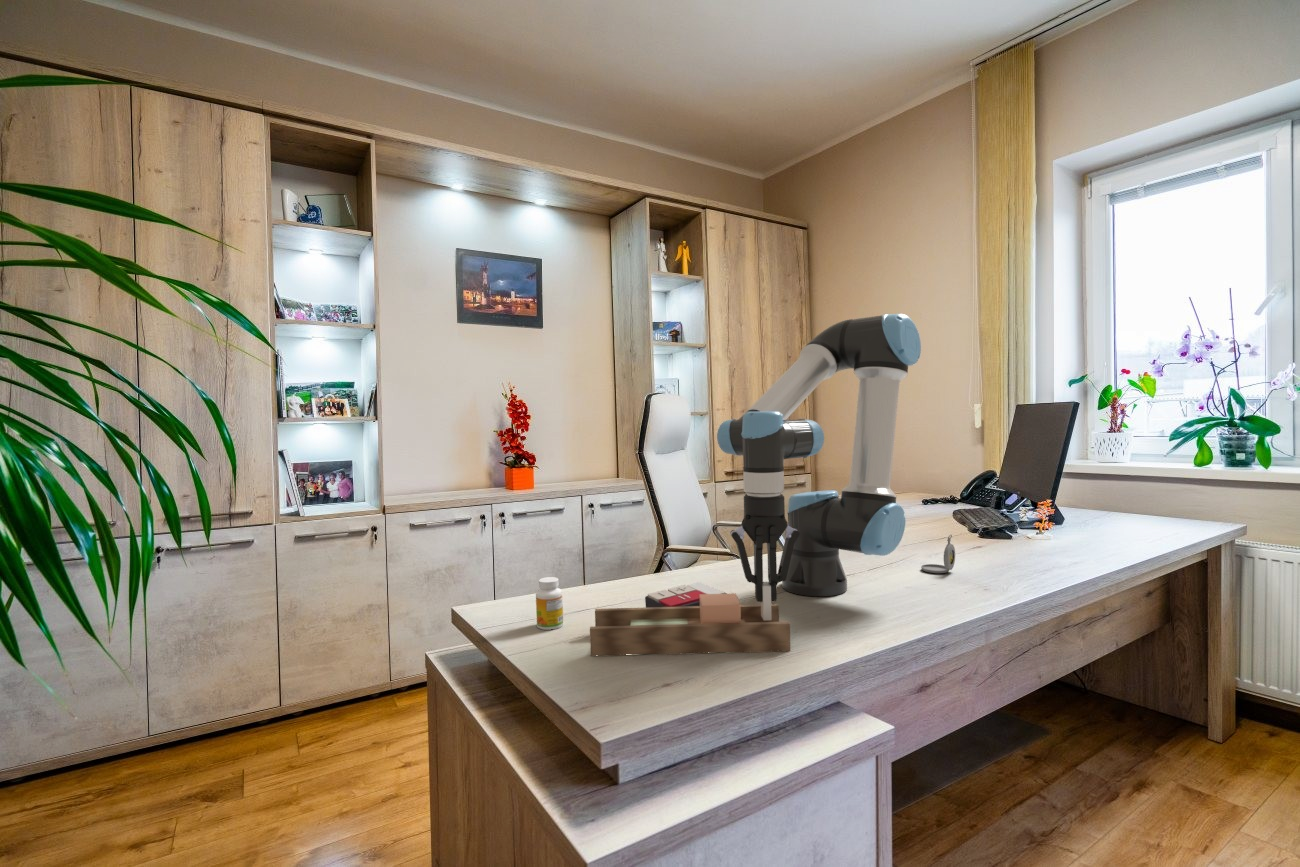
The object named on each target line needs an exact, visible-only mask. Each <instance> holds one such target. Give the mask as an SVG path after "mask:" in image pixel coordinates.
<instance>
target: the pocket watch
mask: <svg viewBox="0 0 1300 867" xmlns="http://www.w3.org/2000/svg"><path fill="white" fill-rule="evenodd" d="M952 536H953V535H952V534H949V535H948V536H947V544H946V545H945V548H944V551H943V564H944V565H942V564H935V563H930V564H929V563H928V564H922V565H920V566H921V567H920V569H921V570H922V571H923V572H926V573H933V574H944V573H945V574H947V573H948V572H950V570H951V571H952V570H953V568H954V567H955V562H956V549H955V546H954V544H952V543H951V542H952V541H951V540H952Z"/></svg>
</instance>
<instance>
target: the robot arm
mask: <svg viewBox="0 0 1300 867" xmlns="http://www.w3.org/2000/svg"><path fill="white" fill-rule="evenodd" d="M921 351H922V344H921V338H920V332H919V330H918V328H917V325H916V324H915V322H914V320H912V319H911V317H909V316H908V315H906V314H903V313H893V314H892V313H891V314H890V313H884V314H882V315H876V316H875V315H874V316H867V317H862V318H861V317H860V318H854V319H853V318H852V319H850V318H849V319H845V320H842V321H839V322H837V323H835V324H832V325H830V326H828V327H827V328H825V329H824V330H823V331H821V332H819V334H818V335H816V336H815V337H813V338H812V339H811V340H809V341H808V342H807V344H806V345H805V346H804V347H803V348H801V350H800V353H799V358H798V359H797V360H796V361H795V362H794V363H793V364H792V365H791V366H790V367H789V368H788V369H787V370H786V371H785V372H784V373H783V374H782V375H781V376H780V377H779V378H778V379H777V380H776V381H775V382H774V383H773V384H772V385H771V386H770V387H769V388H768V389H767V390H766V391H765V392H764V393H763V394H762V395H761V397H759V398H758V399H757V400H756V402H754V403H753V404H752V405H751V406H750V407H749V409H747V411H746V412H745V413H743V414H742V416H740V417H739V418H737V419H736V418H734V419H733V418H732V419H727V420H725V421H722V422H721V424H720V425H719V426H718V429H717V432H716V441H717V445H718V447H719V448H720V450H721V451H722V452H723V453H725V454H728V455H733V456H734V455H736V456H737V457H738V456H739V457H741V456H742V459H743V460H742V462H743V464H742V465H743V467H742V468H743V470H742V471H743V472H742V473H743V474H742V475H743V492H745V493H746V494H744V496H743V519H742V521H741V525H740V526H739V527H738V528H736V529H731V531H730V532H729V533H730V536H731V538H732V539H733V541H734V542H735V544H736V548H737V552H738V555H739V558H740V563H741V565H742V566H741V567H742V570H743V574H744V577H745V580H746V581H747V583H752V584H753V585H754V597H755V600H756V601H757V603H758V602H759V603H760V604H761V616H762V618H763V620H772V616H771V604H772V602H777V598H778V597H777V592H778V591H777V590H778V589H777V586H778V584H779V583H781V586H782V589H783V590H785V591H787V592H788V593H790V594H791V593H792V594H795V595H800V596H806V597H833V596H838V595H841V594H844V593H845V592H847V590H848V579H847V576H846V573H845V570H844V568H843V565H842V561H841V557H840V550H841V551H842V550H843V551H847V552H854V553H858V554H864V555H866V556H879V557H880V556H881V557H883V556H887V555H890V554H891V553H893V552H894V551H895V550H896V548H897V547H898V546H899V545H900V543H901V541H902V539H903V536H904V534H905V528H906V521H907V520H906V516H905V511H904V509H903V507H902V506H901V505H899V503H897V495H896V494H895V492H894V491H893V490H892V488H891V480H892V478H891V477H892V468H893V459H894V458H893V457H894V449H895V448H894V446H895V437H896V425H897V424H896V423H897V415H898V414H897V412H898V402H899V393H900V383H901V382H902V381H903V380H904V379H905V378H906V377H907V376H908V374H909V373H908V372H909V366H910V367H912V366H914V365H915V364H917V363H918V361H919V359H920V357H921ZM849 369H850V370H851V369H853V374H854V375H855V376H856V377H857V378H858V381H859V384H858V385H859V386H858V394H857V405H856V412H855V413H856V415H855V426H854V434H853V435H854V437H853V446H852V447H853V448H852V456H851V466H850V476H849V483H848V485H846V486H845V487H843V488H842V490H841V496H840V495H839V493H838V491H837V490H817V491H808V492H807V491H806V492H800V493H795V494H792V495H791V496H790V497H789V498H788V504H787V505H788V506H787V519H786V515H785V514H786V513H785V512H786V511H785V510H786V508H785V496H784V494H783V492H785V474H784V472H785V470H784V466H785V465H784V464H785V462H784V461H785V460H790V459H799V458H803V459H805V458H807V457H811V456H815V455H817V454H818V453H819V452H820V451H821V450H822V449H823V446H824V443H825V433H824V430H823V427H821V425H820V424H819V423H818V422H817V421H815V420H812V419H805V418H798V419H788V418H789V417H790V416H791V415H792V414H793V413H795V411H796V410H797V408H798V407H799V406H800V405H801V404H802V403H803V402H804V401H805V400H806V398H808V397H809V396H810V395H811V394H812V393H813V391H814V390H816V388H817V387H818V386H819V385H820V384H821V383H822V382H823V381H824V380H828V379H831V378H832V377H833V376H834V375H835V374H836V373H838V372H841V371H844V370H849ZM839 497H840V498H839ZM744 533H745V534H746V535H747V536H748V537H749V539H750V540H751V541H752V543H753V564H754V565H753V568H754V569H753V570H754V572H753V573H752V568H751V566H750V562H749V559H748V558H749V557H748V554H747V553H748V552H747V550H746V547H745V543H744V541H743V540H744V539H745V534H744ZM783 534H784V537H785V540H784V544H783V548H782V551H781V557H780V562H779V565H778V564H777V544H778V543H777V542H778V541H779V540H780V538H781V537H782V535H783ZM764 544H766V546H767V550H766V551H767V580H768V581H764V570H763V567H764V566H763V564H764V563H763V560H764V559H763V549H764V546H763V545H764ZM777 566H778V569H777Z"/></svg>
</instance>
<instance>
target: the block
mask: <svg viewBox="0 0 1300 867" xmlns="http://www.w3.org/2000/svg"><path fill="white" fill-rule="evenodd" d="M737 595H738V594H736V593H735V592H733V593H727V594H700V621H701V624H710V623H741V605H742V604H741V602H740V600H739V598H738V596H737Z"/></svg>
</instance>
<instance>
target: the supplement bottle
mask: <svg viewBox="0 0 1300 867" xmlns="http://www.w3.org/2000/svg"><path fill="white" fill-rule="evenodd" d="M559 584H560V583H559V578H558V577H556V576H547V577H546V576H545V577H541V578H540V579H539V580H538V587H539V589H537V591H536V593H535V607H536V626H537V628H538V629H540V630H544V631H551V629H553V630H557V629H560V628H561V627H562V626H563V625H564V606H563V605H564V604H563V591H562V589H561V588H559ZM559 627H560V628H559Z"/></svg>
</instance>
